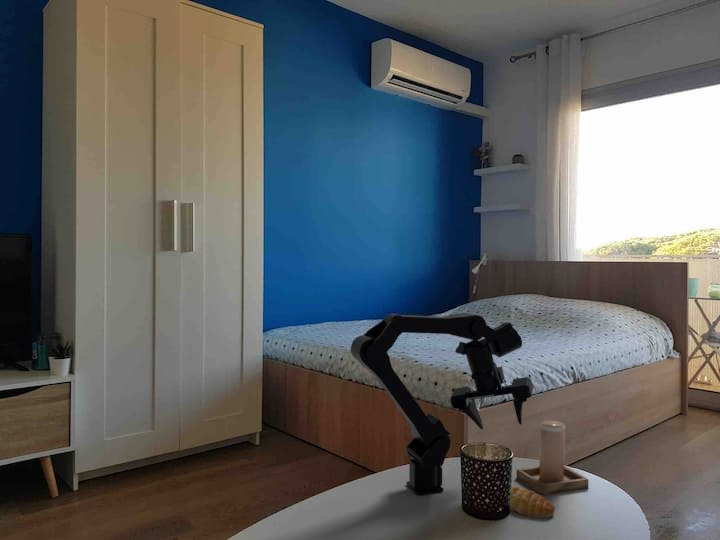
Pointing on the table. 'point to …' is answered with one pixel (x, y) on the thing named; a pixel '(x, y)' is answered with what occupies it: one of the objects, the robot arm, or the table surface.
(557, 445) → the tumbler
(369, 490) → the table surface
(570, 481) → the tray
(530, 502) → the pastry
